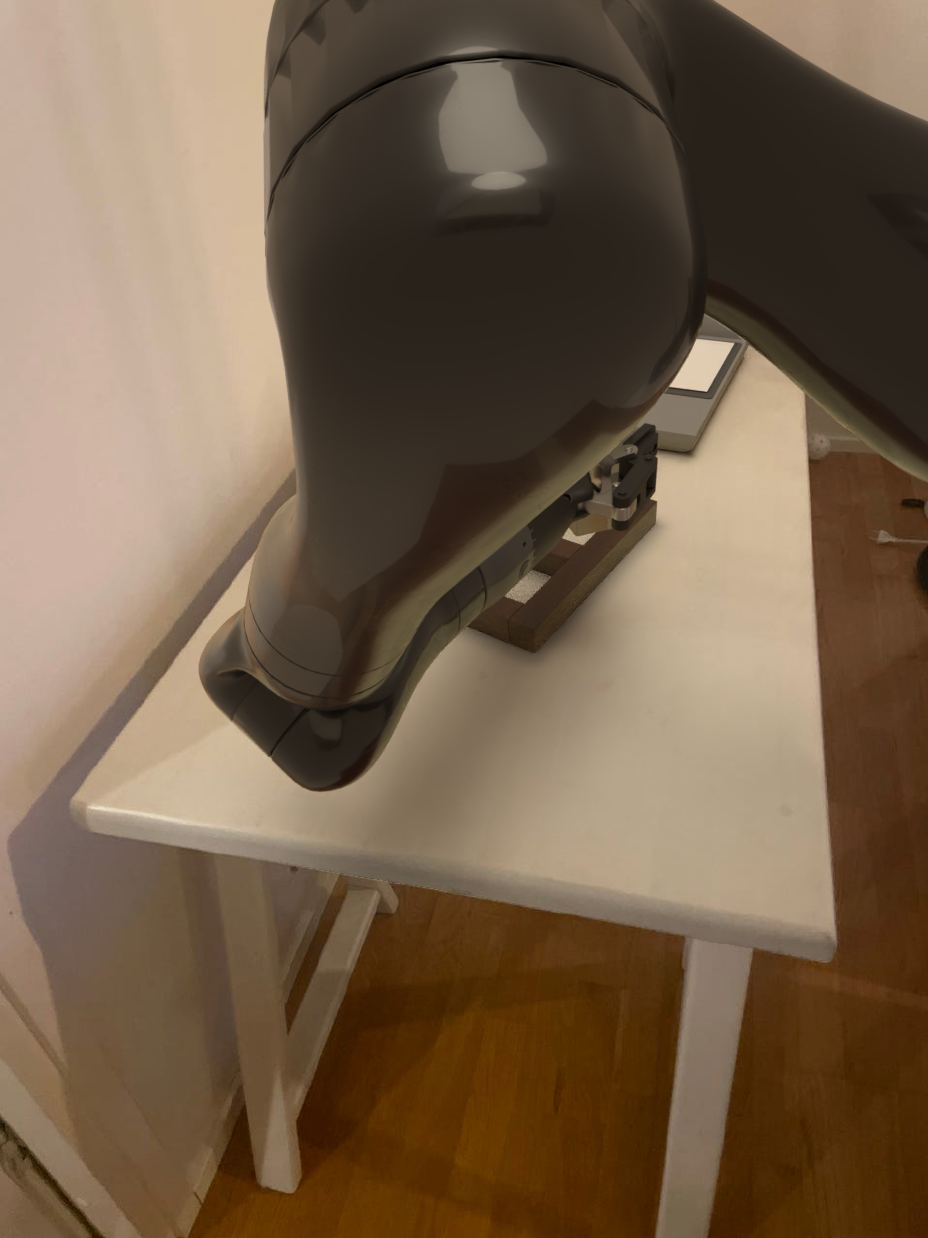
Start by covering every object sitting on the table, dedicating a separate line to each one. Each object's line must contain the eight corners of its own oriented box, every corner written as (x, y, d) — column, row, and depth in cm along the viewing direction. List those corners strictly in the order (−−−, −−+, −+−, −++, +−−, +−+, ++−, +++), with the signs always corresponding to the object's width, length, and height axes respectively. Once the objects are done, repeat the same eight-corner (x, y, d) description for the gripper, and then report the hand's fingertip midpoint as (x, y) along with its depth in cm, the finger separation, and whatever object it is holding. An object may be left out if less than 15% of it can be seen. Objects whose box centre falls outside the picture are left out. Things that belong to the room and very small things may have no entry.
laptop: (401, 412, 111) (370, 152, 93) (491, 327, 129) (479, 96, 112) (693, 458, 99) (721, 167, 81) (747, 356, 117) (780, 100, 99)
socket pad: (656, 523, 90) (657, 500, 88) (535, 653, 76) (534, 629, 75) (546, 490, 96) (546, 469, 94) (416, 606, 82) (413, 583, 81)
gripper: (582, 515, 53) (704, 397, 63) (382, 455, 59) (522, 358, 70) (580, 619, 57) (694, 493, 68) (395, 552, 64) (524, 448, 75)
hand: (606, 425), depth 69 cm, fingers closed on box, 6 cm apart
